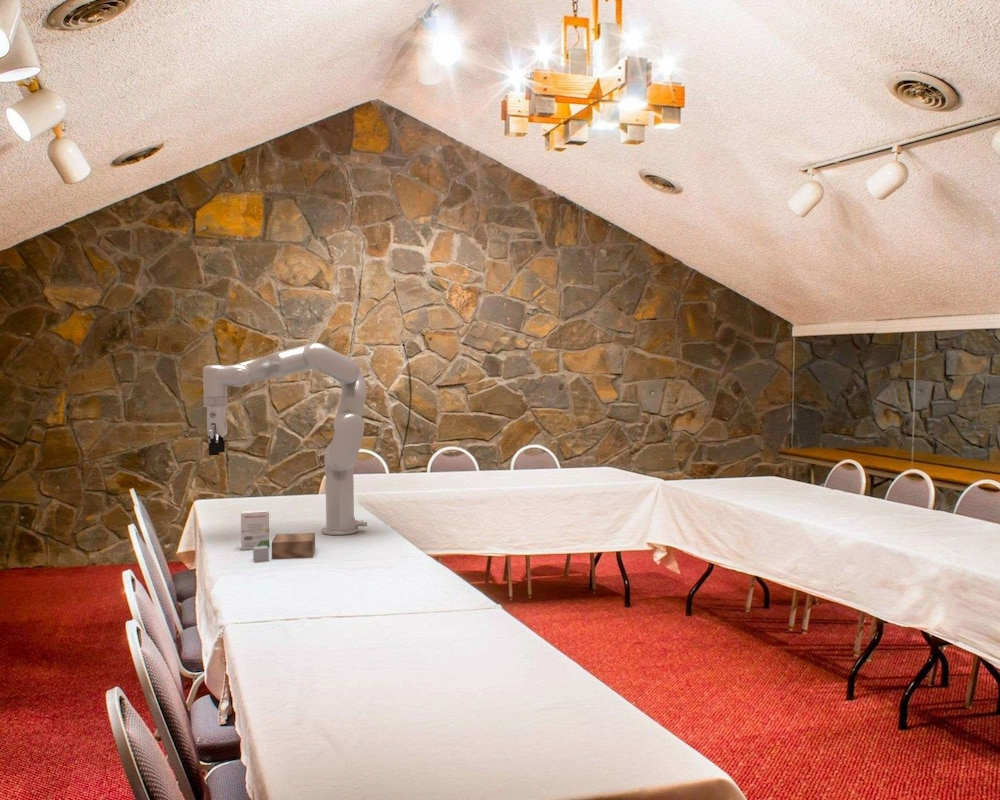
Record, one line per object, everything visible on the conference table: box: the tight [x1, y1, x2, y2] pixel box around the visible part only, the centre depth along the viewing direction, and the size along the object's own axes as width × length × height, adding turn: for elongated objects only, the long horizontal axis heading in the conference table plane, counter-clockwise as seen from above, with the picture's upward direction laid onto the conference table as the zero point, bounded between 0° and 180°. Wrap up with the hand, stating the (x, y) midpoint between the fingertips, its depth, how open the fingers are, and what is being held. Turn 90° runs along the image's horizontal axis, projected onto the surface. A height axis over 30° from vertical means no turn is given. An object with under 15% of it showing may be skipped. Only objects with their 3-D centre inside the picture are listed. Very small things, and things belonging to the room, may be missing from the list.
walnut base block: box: [271, 532, 316, 560], centre depth 283 cm, size 12×13×5 cm
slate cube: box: [252, 546, 270, 563], centre depth 274 cm, size 4×4×4 cm
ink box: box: [240, 509, 270, 551], centre depth 292 cm, size 8×5×12 cm, turn 108°
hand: (217, 453), depth 304 cm, fingers open, 9 cm apart
